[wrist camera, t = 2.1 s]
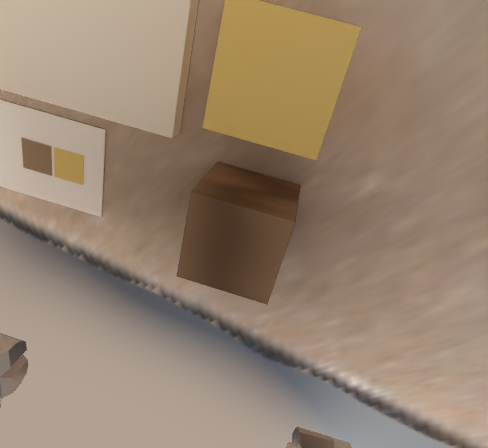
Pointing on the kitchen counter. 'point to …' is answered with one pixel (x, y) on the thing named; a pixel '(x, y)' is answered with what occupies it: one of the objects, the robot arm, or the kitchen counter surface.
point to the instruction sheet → (52, 158)
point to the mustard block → (277, 75)
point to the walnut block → (238, 231)
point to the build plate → (101, 57)
